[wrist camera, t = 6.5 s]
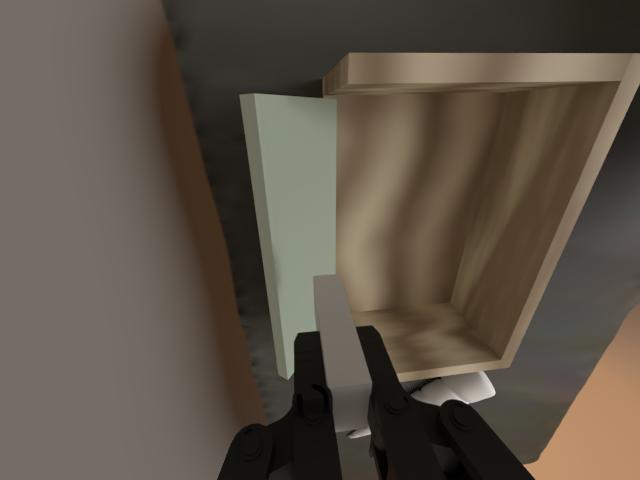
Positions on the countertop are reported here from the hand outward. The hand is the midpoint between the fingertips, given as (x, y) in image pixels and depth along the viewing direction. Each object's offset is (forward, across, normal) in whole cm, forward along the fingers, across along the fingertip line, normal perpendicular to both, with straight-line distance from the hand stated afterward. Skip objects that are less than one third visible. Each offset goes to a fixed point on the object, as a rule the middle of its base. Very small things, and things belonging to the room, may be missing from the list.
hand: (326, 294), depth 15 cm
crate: (+11, +9, 0) cm, 15 cm away
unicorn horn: (+12, +15, -31) cm, 36 cm away
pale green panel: (+10, +1, 0) cm, 10 cm away
